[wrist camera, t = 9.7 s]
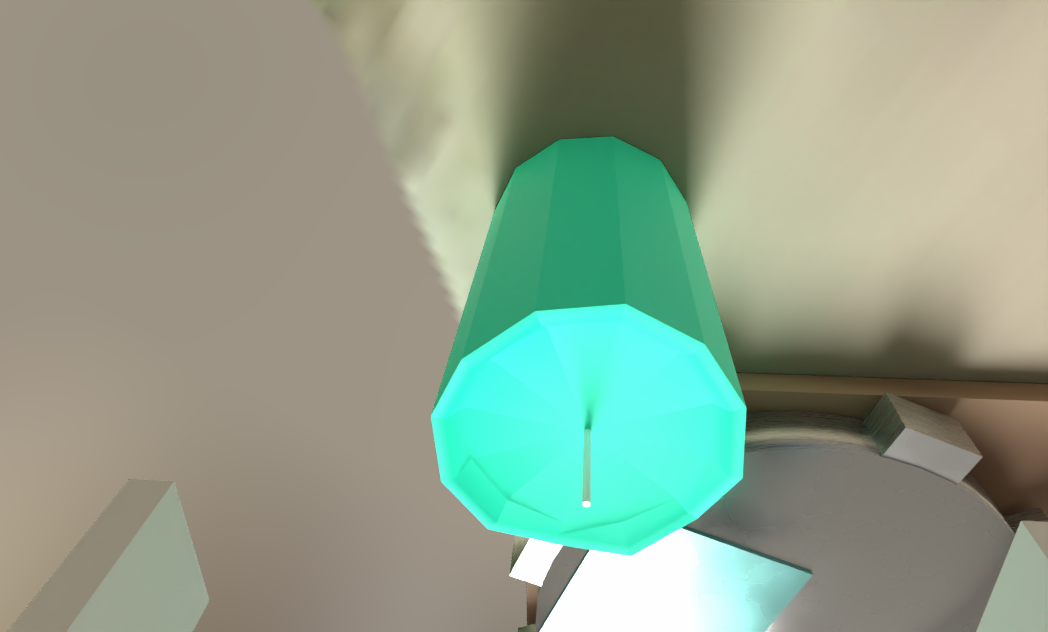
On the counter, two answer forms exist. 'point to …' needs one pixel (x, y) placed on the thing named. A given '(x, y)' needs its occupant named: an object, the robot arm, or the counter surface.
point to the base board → (980, 407)
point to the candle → (590, 360)
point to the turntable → (805, 539)
